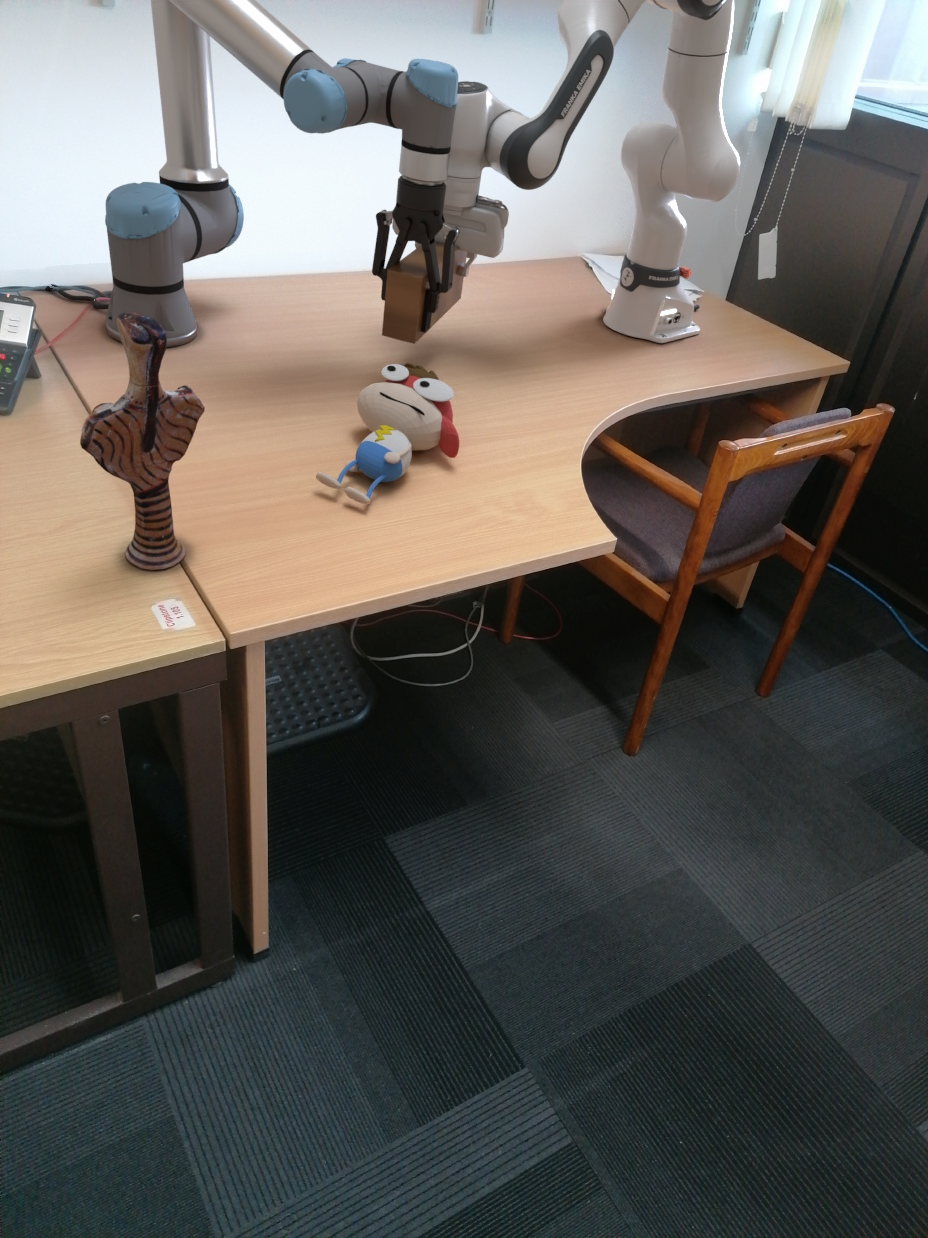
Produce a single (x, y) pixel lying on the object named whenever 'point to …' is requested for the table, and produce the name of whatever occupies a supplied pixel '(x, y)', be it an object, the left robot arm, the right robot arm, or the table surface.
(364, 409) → the toy
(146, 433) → the figurine
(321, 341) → the table surface
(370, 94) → the left robot arm
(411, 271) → the box
